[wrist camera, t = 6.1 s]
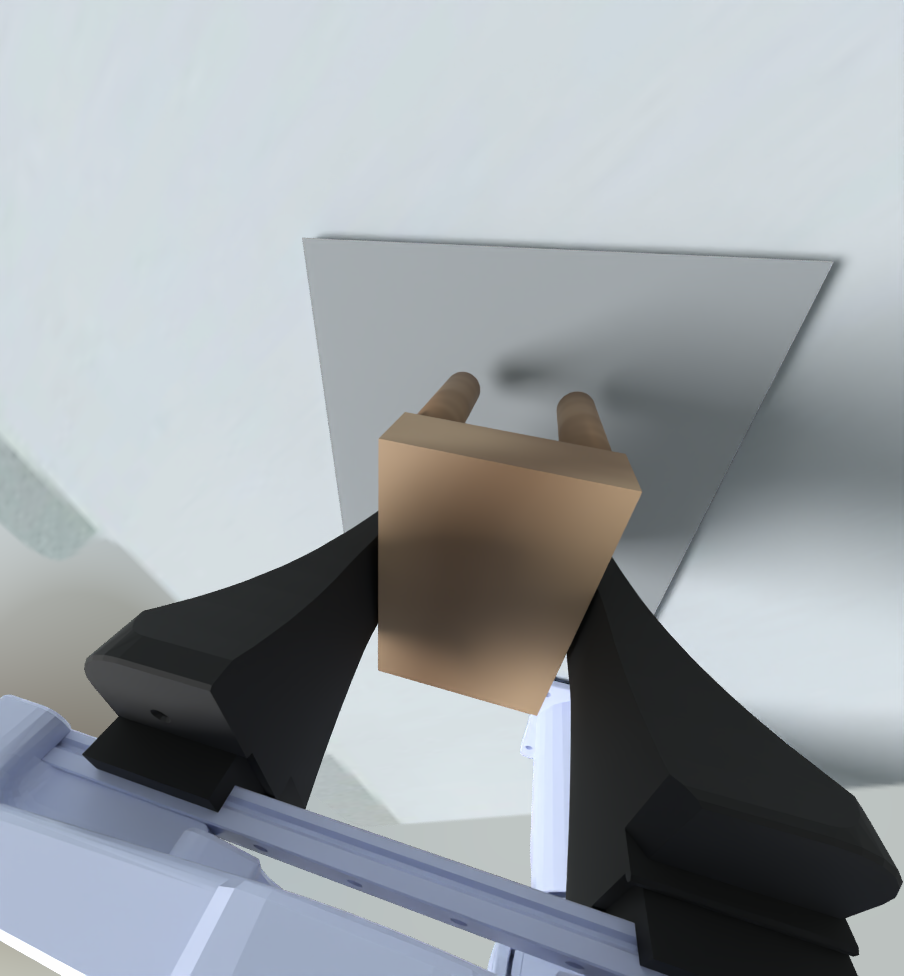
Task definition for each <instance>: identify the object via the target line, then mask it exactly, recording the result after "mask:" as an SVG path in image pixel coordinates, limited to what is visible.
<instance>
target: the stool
mask: <svg viewBox="0 0 904 976" xmlns="http://www.w3.org/2000/svg"><path fill="white" fill-rule="evenodd" d="M479 395H480V385H479V382H478V380H477V379H476V378H475V377H474V376H473V375H472V374H470V373H468V372H457V373H455V374H453V375H452V376H451V377H450V378H449V379H448V380H447V381H446V382H445V383H444V384H443V386H442V387H441V388H440V389H439V390H438V391H437V392H436V393H435V395H434V396H433V397H432V398H431V399H430V400H429V401H428V402H427V403H426V405H425V406H424V407H423V408H422V409H421V410H420V411H419V412H418V413H417V414H413V413H408V412H404V413H403V414H402V415H401V416H400V417H399V418H398V419H397V420H396V421H395V422H394V423H393V424H392V426H391V427H390V428H389V429H388V430H387V431H386V432H385V433H384V434H383V435H382V436H381V437H380V438H379V439H378V670H379V671H382V672H386V673H389V674H393V675H396V676H399V677H403V678H406V679H410V680H413V681H417V682H420V683H424V684H427V685H431V686H434V687H438V688H441V689H445V690H448V691H452V692H455V693H459V694H462V695H465V696H469V697H472V698H476V699H479V700H483V701H486V702H490V703H493V704H497V705H500V706H504V707H507V708H511V709H514V710H518V711H521V712H525V713H528V714H532V715H535V716H537V715H538V713H539V711H540V709H541V707H542V704H543V702H544V700H545V698H546V696H547V694H548V692H549V689H550V687H551V685H552V683H553V681H554V679H555V677H556V675H557V672H558V670H559V668H560V666H561V664H562V662H563V660H564V658H565V655H566V653H567V651H568V649H569V647H570V645H571V643H572V640H573V638H574V636H575V634H576V632H577V630H578V628H579V626H580V623H581V621H582V619H583V617H584V615H585V613H586V611H587V609H588V606H589V604H590V602H591V600H592V598H593V596H594V594H595V591H596V589H597V587H598V585H599V583H600V581H601V579H602V577H603V574H604V572H605V570H606V568H607V566H608V564H609V562H610V560H611V557H612V555H613V553H614V551H615V549H616V547H617V545H618V542H619V540H620V538H621V536H622V534H623V532H624V530H625V528H626V525H627V523H628V521H629V519H630V517H631V515H632V513H633V511H634V508H635V506H636V504H637V502H638V500H639V498H640V496H641V493H642V490H641V488H640V485H639V483H638V481H637V479H636V476H635V474H634V472H633V469H632V467H631V465H630V462H629V460H628V458H627V456H626V454H624V453H619V452H613V451H612V450H611V447H610V444H609V442H608V439H607V436H606V433H605V431H604V428H603V425H602V423H601V420H600V417H599V414H598V412H597V409H596V406H595V403H594V401H593V399H592V398H591V397H590V396H589V395H588V394H586V393H584V392H571V393H569V394H567V395H565V396H564V397H563V398H562V399H561V400H560V401H559V403H558V405H557V424H558V437H559V441H556V440H550V439H545V438H540V437H534V436H529V435H524V434H519V433H513V432H508V431H503V430H498V429H492V428H487V427H482V426H477V425H471V424H466V423H465V422H466V420H467V419H468V417H469V415H470V413H471V411H472V409H473V407H474V405H475V403H476V401H477V400H478V398H479Z"/></svg>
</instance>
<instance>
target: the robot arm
mask: <svg viewBox="0 0 904 976" xmlns="http://www.w3.org/2000/svg"><path fill="white" fill-rule="evenodd" d="M377 624H378V511H377V512H376V513H374V514H373V515H371V516H370V517H368V518H367V519H365V520H364V521H362V522H361V523H359V524H358V525H356V526H355V527H353V528H352V529H350V530H348V531H347V532H345V533H344V534H342V535H340V536H339V537H337V538H335V539H333V540H332V541H330V542H328V543H327V544H325V545H323V546H322V547H320V548H318V549H316V550H314V551H312V552H311V553H309V554H307V555H305V556H303V557H301V558H299V559H296V560H294V561H292V562H290V563H288V564H286V565H284V566H281V567H279V568H277V569H274V570H272V571H269V572H267V573H264V574H262V575H259V576H257V577H254V578H252V579H250V580H247V581H244V582H241V583H239V584H236V585H233V586H230V587H227V588H224V589H221V590H218V591H215V592H211V593H208V594H205V595H202V596H198V597H195V598H191V599H188V600H184V601H180V602H176V603H172V604H169V605H165V606H161V607H157V608H153V609H149V610H145V611H143V612H141V613H140V614H139V615H138V616H137V617H136V618H134V619H133V620H132V621H131V622H129V623H128V624H127V625H126V626H125V627H124V628H122V629H121V630H120V631H119V632H118V633H116V634H115V635H114V636H113V637H112V638H110V639H109V640H108V641H107V642H106V643H104V644H103V645H102V646H101V647H100V648H99V649H98V650H96V651H95V652H94V653H93V654H91V655H90V656H89V657H88V658H87V659H86V662H85V668H84V670H85V673H86V676H87V678H88V679H89V681H90V682H91V684H92V685H93V686H94V688H95V689H96V690H97V691H98V692H99V693H100V695H101V696H102V697H103V698H104V699H105V701H106V702H107V703H108V704H109V705H110V707H111V708H112V709H113V710H114V711H115V712H116V714H117V715H118V716H119V717H118V718H117V719H116V720H115V721H114V722H113V723H112V724H111V725H110V726H109V727H108V728H107V729H106V730H105V731H104V732H103V733H102V734H101V735H100V736H99V737H98V738H96V737H93V736H90V735H87V734H84V733H81V732H78V731H75V730H73V729H71V726H70V724H69V723H68V722H67V721H66V720H65V719H64V718H63V717H62V716H61V715H60V714H58V713H57V712H55V711H54V710H52V709H50V708H48V707H46V706H43V705H40V704H37V703H34V702H31V701H28V700H25V699H23V698H19V697H16V696H14V695H4V696H2V697H1V698H0V940H1V941H2V942H4V943H6V944H8V945H9V946H11V947H13V948H15V949H17V950H18V951H20V952H22V953H23V954H25V955H27V956H29V957H31V958H32V959H34V960H36V961H38V962H39V963H41V964H43V965H45V966H47V967H48V968H50V969H52V970H54V971H56V972H57V973H59V974H61V975H62V976H858V975H857V973H856V971H855V968H854V966H853V964H852V962H851V959H850V957H849V955H850V956H857V955H859V948H858V945H857V943H856V941H855V938H854V936H853V934H852V932H851V930H850V927H849V925H848V923H847V921H846V919H845V918H847V917H850V916H852V915H855V914H858V913H861V912H863V911H866V910H869V909H872V908H874V907H877V906H880V905H883V904H885V903H886V902H888V901H890V900H892V899H894V898H895V897H896V895H897V893H898V891H899V889H900V887H901V885H902V883H903V881H902V879H901V876H900V873H899V871H898V869H897V868H896V866H895V864H894V862H893V860H892V859H891V857H890V855H889V853H888V852H887V850H886V848H885V846H884V845H883V843H882V841H881V840H880V838H879V836H878V834H877V833H876V831H875V829H874V827H873V826H872V824H871V822H870V821H869V819H868V817H867V816H866V814H865V812H864V811H863V809H862V807H861V806H860V804H859V803H858V801H857V800H856V798H855V796H853V795H852V794H851V793H849V792H848V791H847V790H846V789H844V788H843V787H842V786H840V785H839V784H838V783H837V782H835V781H834V780H833V779H831V778H830V777H829V776H828V775H826V774H825V773H824V772H822V771H821V770H820V769H819V768H817V767H816V766H815V765H813V764H812V763H811V762H810V761H808V760H807V759H806V758H804V757H803V756H802V755H800V754H799V753H798V752H797V751H795V750H794V749H793V748H791V747H790V746H789V745H788V744H786V743H785V742H784V741H783V740H782V739H780V738H779V737H778V736H777V735H776V734H774V733H773V732H772V731H771V730H770V729H769V728H767V727H766V726H765V725H764V724H763V723H761V722H760V721H759V720H758V719H757V718H756V717H754V716H753V715H752V714H751V713H750V712H749V711H747V710H746V709H745V708H744V707H743V706H742V705H741V704H740V703H738V702H737V701H736V700H735V699H734V698H733V697H732V696H731V695H730V694H728V693H727V692H726V691H725V690H724V689H723V688H722V687H721V686H720V685H719V684H718V683H717V682H716V681H715V680H714V679H713V678H712V677H711V676H710V675H709V674H707V673H706V672H705V671H704V670H703V669H702V668H701V667H700V666H699V665H698V664H697V663H696V662H695V661H694V660H693V659H692V658H691V657H690V656H689V655H688V653H687V652H686V651H685V650H684V649H683V648H682V647H681V646H680V645H679V644H678V643H677V641H676V640H675V639H674V638H673V637H672V636H671V635H670V634H669V633H668V632H667V630H666V629H665V628H664V627H663V626H662V625H661V623H660V622H659V621H658V620H657V619H656V617H655V616H654V615H653V614H652V612H651V611H650V610H649V609H648V607H647V606H646V605H645V603H644V602H643V601H642V599H641V598H640V597H639V595H638V594H637V593H636V591H635V590H634V588H633V587H632V586H631V584H630V583H629V581H628V580H627V578H626V577H625V576H624V574H623V573H622V571H621V570H620V568H619V567H618V565H617V563H616V562H615V560H614V559H613V557H611V560H610V562H609V564H608V566H607V568H606V570H605V572H604V574H603V577H602V579H601V581H600V583H599V585H598V587H597V589H596V591H595V594H594V596H593V598H592V600H591V602H590V604H589V606H588V609H587V611H586V613H585V615H584V617H583V619H582V621H581V623H580V626H579V628H578V630H577V632H576V634H575V636H574V638H573V640H572V643H571V645H570V647H569V649H568V651H567V663H568V673H569V684H570V685H569V684H565V683H561V682H557V681H553V683H552V685H551V687H550V689H549V692H548V694H547V696H546V698H545V700H544V702H543V704H542V707H541V709H540V711H539V713H538V715H537V716H535V715H532V714H530V718H529V721H528V724H527V727H526V731H525V734H524V737H523V740H522V744H521V747H520V753H521V754H522V755H523V756H525V757H528V758H531V759H534V763H533V791H532V819H531V848H530V860H531V887H528V886H526V885H523V884H520V883H517V882H514V881H511V880H508V879H505V878H502V877H500V876H497V875H493V874H491V873H488V872H485V871H482V870H479V869H476V868H473V867H470V866H468V865H465V864H462V863H459V862H456V861H453V860H450V859H447V858H444V857H441V856H439V855H436V854H433V853H430V852H427V851H424V850H421V849H418V848H415V847H412V846H409V845H406V844H404V843H401V842H398V841H395V840H392V839H389V838H386V837H383V836H380V835H378V834H375V833H372V832H369V831H366V830H363V829H360V828H357V827H354V826H351V825H349V824H345V823H343V822H340V821H337V820H334V819H331V818H328V817H325V816H322V815H319V814H317V813H314V812H310V811H308V810H305V809H306V806H307V802H308V800H309V797H310V794H311V791H312V788H313V785H314V782H315V779H316V776H317V773H318V770H319V768H320V765H321V762H322V759H323V756H324V753H325V750H326V748H327V745H328V742H329V739H330V737H331V734H332V731H333V728H334V726H335V723H336V720H337V718H338V715H339V712H340V710H341V707H342V704H343V702H344V699H345V697H346V694H347V692H348V689H349V686H350V684H351V681H352V679H353V676H354V674H355V672H356V669H357V667H358V664H359V662H360V659H361V657H362V655H363V652H364V650H365V648H366V646H367V644H368V641H369V639H370V637H371V635H372V633H373V632H374V630H375V628H376V626H377ZM220 838H221V839H220ZM222 839H223V840H222ZM224 840H226V841H229V842H232V843H234V844H237V845H239V846H242V847H245V848H247V849H250V850H253V851H255V852H258V853H261V854H263V855H266V856H269V857H271V858H274V859H277V860H279V861H282V862H284V863H287V864H290V865H293V866H295V867H298V868H300V869H303V870H306V871H308V872H311V873H314V874H317V875H319V876H322V877H325V878H327V879H330V880H332V881H335V882H338V883H341V884H343V885H346V886H348V887H351V888H354V889H356V890H359V891H362V892H364V893H367V894H370V895H372V896H375V897H378V898H380V899H383V900H386V901H388V902H391V903H393V904H396V905H399V906H402V907H404V908H407V909H410V910H412V911H415V912H417V913H420V914H423V915H426V916H428V917H431V918H433V919H436V920H439V921H441V922H444V923H447V924H449V925H452V926H455V927H457V928H460V929H463V930H465V931H468V932H471V933H473V934H476V935H479V936H481V937H484V938H487V939H490V940H492V941H495V944H494V947H493V950H492V953H491V956H490V960H489V965H488V969H487V970H486V969H483V968H481V967H479V966H477V965H474V964H472V963H470V962H468V961H465V960H464V959H461V958H459V957H456V956H455V955H452V954H450V953H448V952H445V951H443V950H441V949H439V948H436V947H434V946H431V945H429V944H427V943H424V942H422V941H419V940H417V939H414V938H412V937H410V936H407V935H405V934H403V933H400V932H398V931H395V930H393V929H390V928H387V927H385V926H382V925H380V924H377V923H375V922H372V921H370V920H367V919H365V918H362V917H359V916H357V915H354V914H352V913H349V912H346V911H343V910H341V909H338V908H335V907H332V906H330V905H327V904H324V903H321V902H318V901H316V900H313V899H310V898H307V897H304V896H301V895H298V894H295V893H292V892H289V891H286V890H283V889H282V888H281V887H280V886H278V885H277V884H276V883H275V882H273V881H272V880H271V879H270V878H269V877H268V876H267V875H266V874H265V872H264V871H263V870H262V869H261V866H260V861H259V859H258V858H256V857H254V856H252V855H250V854H248V853H246V852H245V851H243V850H241V849H238V848H237V847H235V846H233V845H231V844H229V843H228V842H226V841H224Z"/></svg>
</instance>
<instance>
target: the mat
mask: <svg viewBox="0 0 904 976" xmlns="http://www.w3.org/2000/svg"><path fill="white" fill-rule="evenodd" d="M302 240H303V247H304V254H305V262H306V269H307V276H308V283H309V290H310V297H311V304H312V311H313V318H314V325H315V332H316V339H317V346H318V353H319V360H320V368H321V375H322V382H323V389H324V396H325V403H326V410H327V417H328V424H329V431H330V438H331V445H332V452H333V459H334V467H335V474H336V481H337V488H338V495H339V502H340V509H341V516H342V523H343V530H344V533H345V532H347V531H348V530H350V529H352V528H353V527H355V526H356V525H358V524H359V523H361V522H362V521H364V520H365V519H367V518H368V517H370V516H371V515H373V514H374V513H376V512H377V511H378V439H379V438H380V437H381V436H382V435H383V434H384V433H385V432H386V431H387V430H388V429H389V428H390V427H391V426H392V424H393V423H394V422H395V421H396V420H397V419H398V418H399V417H400V416H401V415H402V414H403V413H404V412H408V413H413V414H417V413H418V412H419V411H420V410H421V409H422V408H423V407H424V406H425V405H426V403H427V402H428V401H429V400H430V399H431V398H432V397H433V396H434V395H435V393H436V392H437V391H438V390H439V389H440V388H441V387H442V386H443V384H444V383H445V382H446V381H447V380H448V379H449V378H450V377H451V376H452V375H453V374H455V373H457V372H468V373H470V374H472V375H473V376H474V377H475V378H476V379H477V380H478V382H479V385H480V395H479V398H478V400H477V401H476V403H475V405H474V407H473V409H472V411H471V413H470V415H469V417H468V419H467V420H466V422H465V423H466V424H471V425H477V426H482V427H487V428H492V429H498V430H503V431H508V432H513V433H519V434H524V435H529V436H534V437H540V438H545V439H550V440H556V441H559V437H558V424H557V405H558V403H559V401H560V400H561V399H562V398H563V397H564V396H565V395H567V394H569V393H571V392H584V393H586V394H588V395H589V396H590V397H591V398H592V399H593V401H594V403H595V406H596V409H597V412H598V414H599V417H600V420H601V423H602V425H603V428H604V431H605V433H606V436H607V439H608V442H609V444H610V447H611V450H612V451H613V452H619V453H624V454H626V456H627V458H628V460H629V462H630V465H631V467H632V469H633V472H634V474H635V476H636V479H637V481H638V483H639V485H640V488H641V490H642V493H641V496H640V498H639V500H638V502H637V504H636V506H635V508H634V511H633V513H632V515H631V517H630V519H629V521H628V523H627V525H626V528H625V530H624V532H623V534H622V536H621V538H620V540H619V542H618V545H617V547H616V549H615V551H614V553H613V555H612V557H613V559H614V560H615V562H616V563H617V565H618V567H619V568H620V570H621V571H622V573H623V574H624V576H625V577H626V578H627V580H628V581H629V583H630V584H631V586H632V587H633V588H634V590H635V591H636V593H637V594H638V595H639V597H640V598H641V599H642V601H643V602H644V603H645V605H646V606H647V607H648V609H649V610H650V611H651V612H652V614H653V615H654V614H655V612H656V610H657V608H658V606H659V604H660V602H661V600H662V598H663V596H664V594H665V592H666V590H667V588H668V586H669V584H670V582H671V580H672V578H673V576H674V574H675V572H676V571H677V569H678V567H679V565H680V563H681V561H682V559H683V557H684V555H685V553H686V551H687V549H688V547H689V545H690V543H691V541H692V539H693V537H694V535H695V533H696V531H697V529H698V527H699V525H700V523H701V521H702V520H703V518H704V516H705V514H706V512H707V510H708V508H709V506H710V504H711V502H712V500H713V498H714V496H715V494H716V492H717V490H718V488H719V486H720V484H721V482H722V480H723V478H724V476H725V474H726V472H727V471H728V469H729V467H730V465H731V463H732V461H733V459H734V457H735V455H736V453H737V451H738V449H739V447H740V445H741V443H742V441H743V439H744V437H745V435H746V433H747V431H748V429H749V427H750V425H751V423H752V421H753V420H754V418H755V416H756V414H757V412H758V410H759V408H760V406H761V404H762V402H763V400H764V398H765V396H766V394H767V392H768V390H769V388H770V386H771V384H772V382H773V380H774V378H775V376H776V374H777V372H778V371H779V369H780V367H781V365H782V363H783V361H784V359H785V357H786V355H787V353H788V351H789V349H790V347H791V345H792V343H793V341H794V339H795V337H796V335H797V333H798V331H799V329H800V327H801V325H802V323H803V322H804V320H805V318H806V316H807V314H808V312H809V310H810V308H811V306H812V304H813V302H814V300H815V298H816V296H817V294H818V292H819V290H820V288H821V286H822V284H823V282H824V280H825V278H826V276H827V274H828V272H829V271H830V269H831V267H832V265H833V263H834V261H814V260H792V259H769V258H747V257H724V256H701V255H679V254H656V253H634V252H611V251H589V250H566V249H544V248H521V247H499V246H476V245H453V244H431V243H408V242H386V241H363V240H341V239H318V238H302Z"/></svg>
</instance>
